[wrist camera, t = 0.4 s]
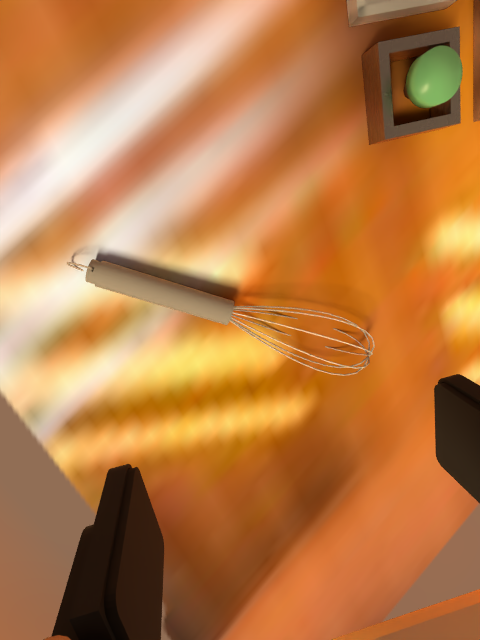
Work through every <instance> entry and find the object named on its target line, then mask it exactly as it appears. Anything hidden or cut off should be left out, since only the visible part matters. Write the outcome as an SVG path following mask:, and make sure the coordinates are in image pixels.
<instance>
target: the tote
mask: <svg viewBox="0 0 480 640" xmlns="http://www.w3.org/2000/svg"><path fill="white" fill-rule="evenodd" d="M455 1H457V0H347V11H348V21H349V27H352V26H357V25H362V24H368V23H373V22H378V21H383V20H389V19H394V18H399V17H405V16H410V15H415V14H421V13H426V12H431V11H437V10H442V9H446V8H447V7H449V6H450V5H451V4H453V3H454V2H455Z"/></svg>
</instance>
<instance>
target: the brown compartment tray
mask: <svg viewBox="0 0 480 640" xmlns="http://www.w3.org/2000/svg"><path fill="white" fill-rule="evenodd" d="M475 121H480V0H474V122H475Z"/></svg>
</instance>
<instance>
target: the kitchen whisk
mask: <svg viewBox="0 0 480 640" xmlns="http://www.w3.org/2000/svg"><path fill="white" fill-rule="evenodd" d="M67 264H68V265H69V266H71V267H73V268H76V269H79V270H81V271H83V270H82V269H80V268H77V267H75V266H72V265H70V264H74V265H78V266H82V267H86V268H88V269H87V272H86V282H90V283H93V284H95V286H97V287H100V288H103V289H107V290H110V291H113V292H117V293H120V294H124V295H127V296H130V297H134V298H137V299H140V300H144V301H147V302H150V303H154V304H157V305H161V306H164V307H167V308H171V309H174V310H177V311H181V312H184V313H188V314H191V315H194V316H198V317H201V318H204V319H208V320H211V321H215V322H218V323H221V324H225V325H228V323H229V321H231V322H232V323H233V324H235V325H236V326H238V325H239V326H238V327H239V328H241V327H242V328H241V329H242V330H244V329H245V330H244V331H245V332H247V331H249V330H248V329H246V328H244V327H243V326H241V325H240V324H238V323H236V322H235V321H237V322H239V323H241V324H243V325H245V326H247V327H249V328H251V329H253V330H255V331H257V332H259V333H261V334H263V335H265V336H267V337H269V338H271V339H273V340H276V339H274V338H272V337H270V336H268V335H266V334H264V333H262V332H260V331H258V330H256V329H254V328H252V327H250V326H248V325H246V324H244V323H242V322H240V321H238V320H236V319H234V318H232V317H231V316H235V315H233V314H238V315H242V316H246V317H250V318H254V319H258V320H262V321H265V322H269V323H273V324H277V325H281V326H285V327H289V328H292V329H296V330H300V331H304V332H307V333H311V334H315V335H318V336H322V337H325V338H329V339H332V340H336V341H339V342H342V343H345V344H349V345H352V346H355V347H358V348H361V347H359V346H356V345H353V344H350V343H346V342H343V341H340V340H337V339H333V338H330V337H326V336H323V335H319V334H316V333H312V332H308V331H305V330H301V329H297V328H294V327H290V326H286V325H282V324H278V323H274V322H271V321H267V320H263V319H259V318H255V317H251V316H247V315H243V314H239V313H235V312H233V310H236V311H246V312H255V313H262V314H270V315H276V316H282V317H288V318H293V319H297V318H294V317H289V316H283V315H277V314H271V313H264V312H256V311H248V310H238V309H252V310H268V311H280V312H290V313H298V314H306V315H312V316H318V317H323V318H328V319H333V320H337V321H340V322H344V323H347V324H350V325H353V326H355V327H357V328H359V329H360V330H361V331H362V332H363V333H364V334H365V332H366V333H367V334H368V335H369V336H370V337H371V338H372V341H373V348H372V350H371V351H370V342H369V340H368V338H367V336H366V334H365V336H366V338H367V341H368V343H369V348H368V350H366V349H365V348H364V346H363V345H362V344H361V343H360V342H359V341H357V340H356V339H355V338H353V337H352V336H350V335H348V334H346V333H345V332H342V331H340V330H337V329H335V328H333V329H335V330H337V331H339V332H342V333H344V334H346V335H348V336H349V337H351V338H353V339H355V340H356V341H357V342H358V343H359V344H360V345H361V346H362V347H363V348H361V349H363V350H365V352H366V353H367V351H368V353H367V354H358V353H352V352H347V351H343V350H338V349H335V348H331V347H327V346H325V347H327V348H331V349H334V350H338V351H342V352H347V353H352V354H357V355H368V357H366V358H365V359H364V360H363V361H362V362H364V361H365V360H366V359H367V360H368V364H369V363H370V361H369V356H370V355H373V353H372V351H373V349H374V347H375V345H374V340H373V337H372V336H371V335H370V334H369V333H368V332H367V331H366V330H364V329H362V328H360V327H359V326H357V325H356V324H355V323H353V322H351V321H349V320H347V319H345V318H342V317H339V316H336V315H333V314H330V313H325V312H320V311H315V310H309V309H301V308H291V307H277V306H234V301H232V300H229V299H225V298H222V297H219V296H216V295H213V294H209V293H206V292H203V291H200V290H197V289H193V288H190V287H187V286H184V285H180V284H177V283H174V282H171V281H168V280H164V279H161V278H158V277H155V276H152V275H148V274H145V273H142V272H139V271H135V270H132V269H129V268H126V267H123V266H119V265H116V264H113V263H110V262H106V261H102V262H100V261H97V260H94V259H93V260H91V262H90V264H89V266H88V267H87V266H84V265H80V264H76V263H71V262H67ZM235 307H271V308H289V309H299V310H307V311H314V312H319V313H324V314H329V315H332V316H335V317H339V318H342V319H344V320H346V321H348V322H350V323H348V322H345V321H341V320H338V319H334V318H329V317H325V316H320V315H314V314H307V313H301V312H292V311H283V310H271V309H256V308H235ZM232 313H233V314H232ZM235 317H237V318H240V319H243V318H241V317H238V316H235ZM232 319H233V320H235V321H233V320H232ZM243 320H246V319H243ZM246 321H248V322H251V323H254V322H252V321H249V320H246ZM351 323H352V324H351ZM254 324H257V323H254ZM257 325H260V324H257ZM260 326H262V327H265V328H268V329H271V328H269V327H266V326H263V325H260ZM243 328H244V329H243ZM246 330H247V331H246ZM271 330H274V329H271ZM274 331H277V330H274ZM364 331H365V332H364ZM249 332H250V333H252V334H254V335H256V334H255V333H253V332H251V331H249ZM249 332H247V333H248V334H250V333H249ZM277 332H280V331H277ZM280 333H283V332H280ZM252 334H250V335H251V336H253V335H252ZM283 334H286V333H283ZM286 335H289V334H286ZM256 336H257V337H259V338H261V339H263V338H262V337H260V336H258V335H256ZM289 336H291V335H289ZM253 337H254V338H256V337H255V336H253ZM256 339H257V340H259V341H261V340H260V339H258V338H256ZM263 340H265V339H263ZM265 341H266V342H268V343H270V344H272V345H274V346H276V347H278V346H277V345H275V344H273V343H271V342H269V341H267V340H265ZM276 341H278V342H280V343H282V344H284V345H287V344H285V343H283V342H281V341H279V340H276ZM261 342H262V343H264V344H265V345H267V346H269V345H268V344H266V343H265V342H263V341H261ZM287 346H289V347H291V348H293V349H296V350H298V351H301V350H299V349H297V348H294V347H292V346H290V345H287ZM269 347H270V348H272V349H274V350H276V349H275V348H273V347H271V346H269ZM278 348H280V347H278ZM280 349H282V348H280ZM282 350H284V351H286V352H288V353H291V352H289V351H287V350H285V349H282ZM276 351H278V350H276ZM278 352H279V353H281V354H283V353H282V352H280V351H278ZM301 352H303V353H305V354H308V355H310V356H313V357H316V356H314V355H311V354H309V353H306V352H304V351H301ZM291 354H293V353H291ZM283 355H285V354H283ZM293 355H295V354H293ZM285 356H287V355H285ZM295 356H297V357H300V356H298V355H295ZM287 357H289V356H287ZM289 358H291V357H289ZM300 358H302V359H305V360H308V359H306V358H303V357H300ZM316 358H318V359H321V360H324V361H326V362H330V363H333V364H337V365H340V366H342V367H337V366H331V365H324V364H321V363H318V362H314V361H311V360H308V361H310V362H314V363H317V364H320V365H324V366H330V367H336V368H345V367H350V368H361V369H363V368H365V367H366V366H367V365H368V364H367V365H366V363H367V360H366V362H365V364H364V366H363V367H353V366H355V365H358V364H361V363H362V362H361V363H358V364H355V365H352V366H345V365H341V364H338V363H334V362H331V361H327V360H325V359H322V358H319V357H316ZM291 359H293V358H291ZM293 360H295V359H293ZM295 361H297V360H295ZM297 362H299V361H297ZM299 363H301V362H299ZM301 364H303V365H306V364H304V363H301ZM306 366H308V367H310V368H313V369H315V370H318V371H322V372H325V373H329V374H334V375H344V376H345V375H351V374H356V373H357V372H359V371H360V370H361V369H359V370H358V371H357V372H355V373H350V374H336V373H330V372H326V371H323V370H319V369H316V368H314V367H311V366H309V365H306Z"/></svg>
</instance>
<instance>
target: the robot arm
mask: <svg viewBox="0 0 480 640" xmlns="http://www.w3.org/2000/svg"><path fill="white" fill-rule="evenodd" d="M434 396H435V439H436V457H437V460H438V462H439V463H440V465H441V466H442V467H443V468H444V469H445V470H446V471H447V472H448V473H449V474H450V475H451V476H452V477H453V478H454V479H455V480H456V481H457V482H458V483H459V484H460V485H461V486H462V487H463V488H464V489H465V490H466V491H468V492H469V493H470V494H471V495H472V496H473V497H474V498H475V499H476V500H477V501H478V502H479V503H480V386H479V385H478V384H476V383H474V382H472V381H471V380H469V379H467V378H466V377H464V376H462V375H460V374H456V375H453V376H449V377H445V378H442V379H440V380H439V381H438V385H436V386H435V389H434ZM163 566H164V542H163V536H162V533H161V530H160V528H159V525H158V522H157V519H156V516H155V513H154V511H153V508H152V505H151V502H150V499H149V496H148V493H147V491H146V488H145V485H144V482H143V479H142V476H141V474H140V471H139V469H138V467H135V468H132V467H131V465H130V464H126V465H123V466H119V467H115V468H112V469H109V471H108V473H107V477H106V481H105V484H104V488H103V492H102V496H101V500H100V503H99V507H98V511H97V515H96V518H95V522H94V525H91V526H88V527H86V528H85V529H84V530H83V532H82V535H81V538H80V541H79V545H78V548H77V552H76V555H75V558H74V562H73V565H72V569H71V572H70V575H69V579H68V582H67V586H66V589H65V592H64V596H63V599H62V603H61V606H60V609H59V613H58V616H57V620H56V623H55V626H54V630H53V633H52V637H48V638H46V639H44V640H161V618H162V592H163ZM332 640H480V589H479V590H476V591H473V592H470V593H467V594H464V595H461V596H458V597H455V598H452V599H449V600H446V601H443V602H440V603H437V604H434V605H431V606H428V607H425V608H422V609H419V610H416V611H414V612H410V613H408V614H405V615H402V616H399V617H396V618H393V619H390V620H387V621H384V622H381V623H378V624H375V625H372V626H369V627H366V628H363V629H360V630H358V631H355V632H352V633H349V634H346V635H343V636H340V637H337V638H334V639H332Z"/></svg>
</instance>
